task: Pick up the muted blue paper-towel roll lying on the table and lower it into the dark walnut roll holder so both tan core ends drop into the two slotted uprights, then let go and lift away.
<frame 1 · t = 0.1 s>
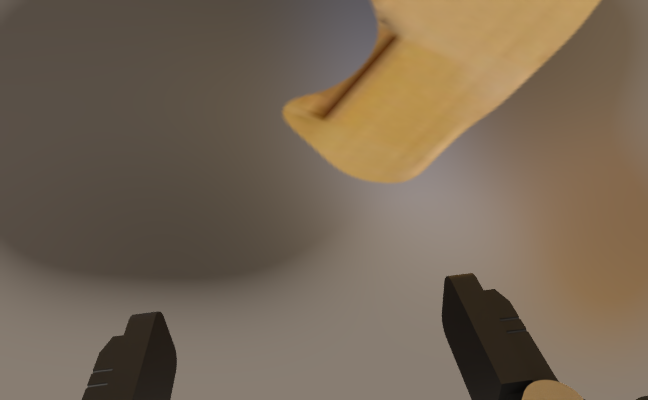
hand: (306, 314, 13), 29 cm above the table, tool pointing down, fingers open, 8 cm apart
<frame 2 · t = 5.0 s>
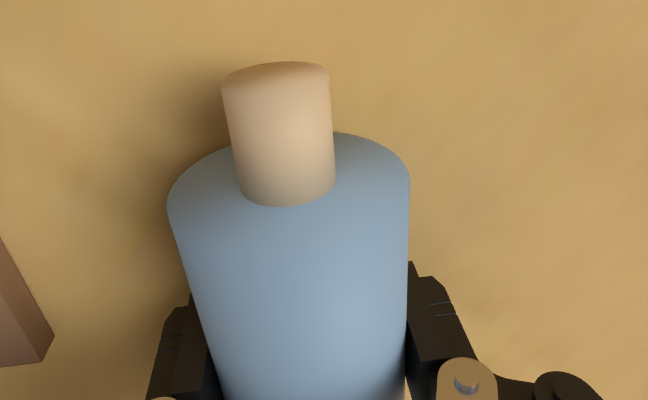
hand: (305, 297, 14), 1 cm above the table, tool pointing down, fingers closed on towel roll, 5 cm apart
towel roll: (301, 279, 15), on the table, touching gripper
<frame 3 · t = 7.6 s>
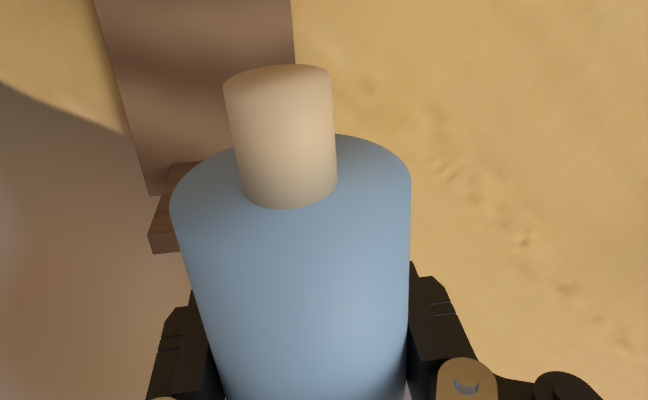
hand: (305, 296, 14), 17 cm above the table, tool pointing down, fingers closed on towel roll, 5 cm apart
towel roll: (303, 281, 15), point 17 cm above the table, touching gripper
roll holder: (207, 61, 27), on the table
when the fingers open (5 cm above the table, at t = 10.2 s): towel roll stays where it is, resting on roll holder.
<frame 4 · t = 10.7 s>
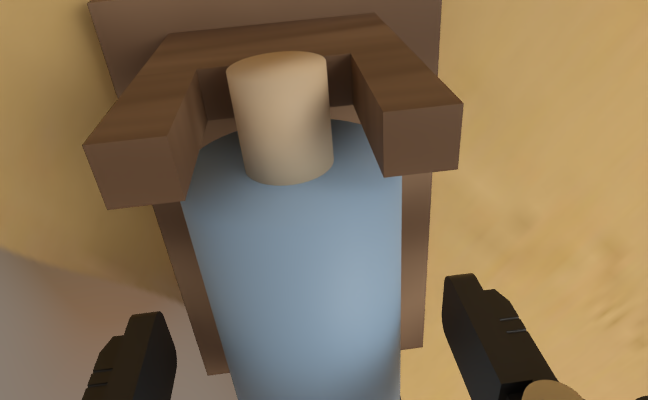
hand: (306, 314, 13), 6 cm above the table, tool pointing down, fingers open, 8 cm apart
towel roll: (298, 263, 15), point 4 cm above the table, touching roll holder
roll holder: (296, 205, 18), on the table
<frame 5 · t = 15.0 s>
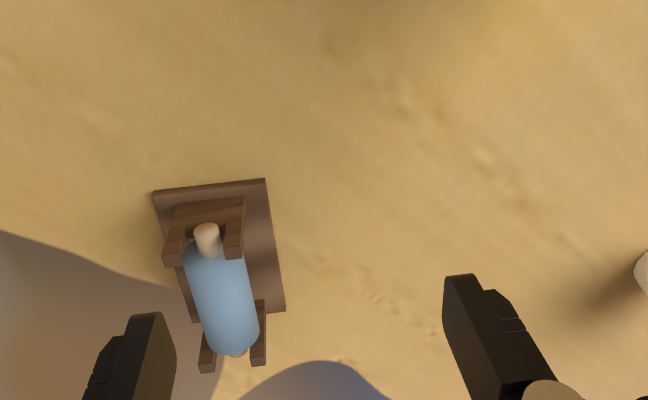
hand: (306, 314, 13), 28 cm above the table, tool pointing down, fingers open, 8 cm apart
towel roll: (220, 277, 44), point 4 cm above the table, tilted 10°, touching roll holder
roll holder: (226, 253, 47), on the table
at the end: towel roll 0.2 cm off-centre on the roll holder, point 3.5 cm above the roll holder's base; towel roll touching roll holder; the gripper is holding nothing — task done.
